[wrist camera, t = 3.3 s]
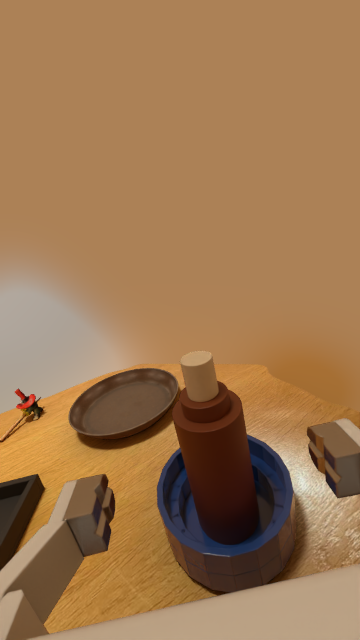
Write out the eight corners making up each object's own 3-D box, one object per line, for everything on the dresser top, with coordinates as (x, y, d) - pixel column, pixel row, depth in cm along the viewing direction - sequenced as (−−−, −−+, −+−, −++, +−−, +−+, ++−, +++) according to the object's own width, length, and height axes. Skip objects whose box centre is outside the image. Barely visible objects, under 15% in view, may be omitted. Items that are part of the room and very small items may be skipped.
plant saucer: (200, 387, 52) (197, 372, 51) (130, 468, 36) (124, 449, 35) (128, 375, 64) (124, 363, 63) (51, 432, 48) (45, 417, 47)
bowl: (328, 574, 21) (325, 531, 20) (172, 617, 21) (158, 576, 19) (263, 452, 34) (258, 421, 32) (165, 477, 33) (156, 446, 32)
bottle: (270, 535, 24) (244, 365, 19) (204, 552, 24) (160, 385, 19) (246, 477, 30) (222, 337, 25) (193, 490, 30) (158, 351, 25)
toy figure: (37, 444, 52) (3, 443, 47) (27, 442, 54) (-8, 441, 49) (53, 394, 56) (23, 388, 51) (42, 394, 58) (12, 387, 53)
